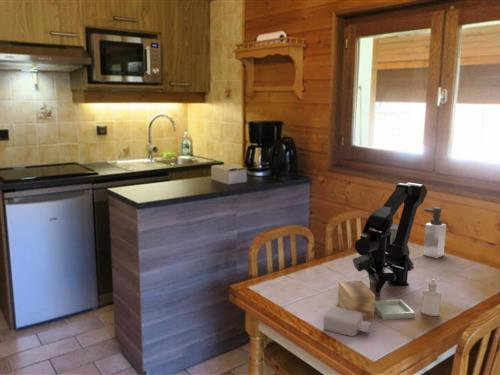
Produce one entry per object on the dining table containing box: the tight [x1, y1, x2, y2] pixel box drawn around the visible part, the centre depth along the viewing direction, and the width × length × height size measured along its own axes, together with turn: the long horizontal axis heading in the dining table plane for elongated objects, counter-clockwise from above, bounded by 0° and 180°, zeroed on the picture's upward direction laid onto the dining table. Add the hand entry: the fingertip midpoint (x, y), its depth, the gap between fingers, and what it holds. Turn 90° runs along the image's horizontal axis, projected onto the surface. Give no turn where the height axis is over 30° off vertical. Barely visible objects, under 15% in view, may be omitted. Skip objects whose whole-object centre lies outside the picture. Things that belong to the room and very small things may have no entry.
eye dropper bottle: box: [420, 278, 442, 317], centre depth 151 cm, size 4×6×12 cm
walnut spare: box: [368, 274, 382, 297], centre depth 166 cm, size 4×4×7 cm
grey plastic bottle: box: [323, 306, 378, 337], centre depth 141 cm, size 5×9×15 cm
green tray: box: [374, 298, 416, 321], centre depth 153 cm, size 11×10×2 cm
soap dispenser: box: [422, 206, 447, 259], centre depth 208 cm, size 6×9×22 cm
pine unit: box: [337, 280, 376, 320], centre depth 153 cm, size 8×12×8 cm, turn 8°
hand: (375, 290), depth 167 cm, fingers closed on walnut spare, 4 cm apart
